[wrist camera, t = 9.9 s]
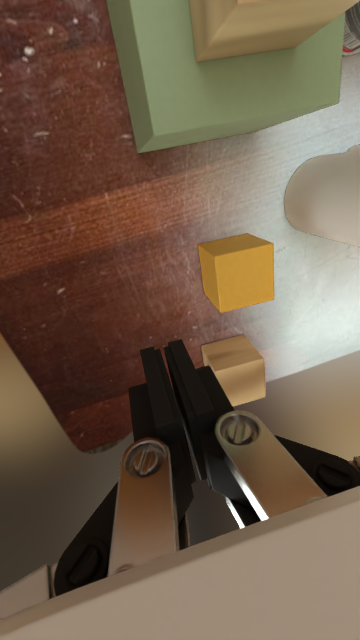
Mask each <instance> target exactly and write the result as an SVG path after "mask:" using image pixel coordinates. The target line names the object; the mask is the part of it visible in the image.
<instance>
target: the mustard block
mask: <svg viewBox="0 0 360 640" xmlns="http://www.w3.org/2000/svg"><path fill="white" fill-rule="evenodd" d="M198 250H199V258H200V265H201V272H202V280H203V287H204V293H205V294H206V296H207V297H208V298H209V299H210V301H211V302H212V303H213V304H214V305H215V307H216V308H217V309H218V310H219V311H220V313H222V312H226V311H230V310H234V309H238V308H242V307H247V306H251V305H255V304H259V303H263V302H267V301H271V300H274V251H273V243H271V242H268V241H266V240H263V239H261V238H258V237H256V236H253V235H250V234H248V233H247V234H243V235H238V236H233V237H229V238H224V239H220V240H215V241H211V242H206V243H201V244H198Z"/></svg>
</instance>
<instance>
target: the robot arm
mask: <svg viewBox="0 0 360 640" xmlns="http://www.w3.org/2000/svg"><path fill="white" fill-rule="evenodd" d="M164 351H165V356H166V360H167V364H168V369H169V373H170V377H171V382H172V386H173V389H172V386H171V383H170V380H169V377H168V373H167V370H166V367H165V364H164V361H163V358H162V355H161V351H160V349H156V350H154V347H150V348H146V349H142V350H140V352H141V357H142V362H143V367H144V372H145V377H146V382H147V383H144V384H141V385H137V386H134V387H130V388H129V399H130V408H131V417H132V426H133V434H134V443H133V444H131V445H130V446H129V447H128V448H127V449H126V451H125V452H124V454H123V456H122V459H121V462H120V470H119V479H118V482H117V483H116V485H115V486H114V487H113V489H112V490H111V491H110V493H109V494H108V495H107V496H106V498H105V499H104V500H103V502H102V503H101V504H100V506H99V507H98V508H97V509H96V511H95V512H94V514H93V515H92V516H91V517H90V519H89V520H88V521H87V522H86V524H85V525H84V526H83V528H82V529H81V530H80V532H79V533H78V534H77V536H76V537H75V538H74V540H73V541H72V542H71V543H70V545H69V546H68V547H67V549H66V550H65V551H64V553H63V555H62V556H61V558H60V560H59V561H58V562H57V563H55V564H53V565H52V566H50V567H49V566H48V564H46V565H44V566H42V567H41V568H39V569H37V570H36V571H34V572H32V573H31V574H29V575H27V576H26V577H24V578H23V579H21V580H19V581H18V582H16V583H14V584H13V585H11V586H9V587H8V588H6V589H4V590H3V591H1V592H0V640H360V456H358V457H354V460H353V461H347V460H344V459H342V458H340V457H338V456H335V455H332V454H329V453H326V452H323V451H320V450H317V449H314V448H311V447H308V446H306V445H303V444H299V443H297V442H294V441H291V440H288V439H285V438H281V437H279V436H275V435H273V434H272V433H271V432H270V431H269V430H268V428H267V427H266V426H265V425H264V424H263V423H262V422H261V421H260V419H259V418H257V417H256V416H255V415H253V414H251V413H249V412H246V411H235V410H234V409H233V406H232V405H231V403H230V401H229V399H228V397H227V396H226V394H225V392H224V390H223V388H222V387H221V385H220V383H219V381H218V379H217V378H216V376H215V374H214V372H213V370H212V369H211V367H210V366H209V365H208V366H204V367H201V368H197V369H195V367H194V365H193V363H192V361H191V358H190V356H189V354H188V352H187V350H186V348H185V346H184V344H183V341H182V340H181V339H180V340H176V341H172V342H169V343H168V347H164ZM173 390H174V392H173ZM183 425H184V426H183ZM184 428H185V430H184ZM185 431H186V434H185ZM186 435H187V438H188V441H189V444H190V447H191V450H192V454H193V457H194V460H195V463H196V466H197V469H198V473H199V476H200V479H201V481H202V480H205V479H207V481H208V483H209V487H210V489H212V488H213V491H216V492H217V493H219V494H222V495H224V496H225V499H226V501H227V504H228V506H229V507H230V509H231V511H232V513H233V515H234V516H235V518H236V520H237V522H238V524H239V526H240V528H241V529H238V530H235V531H233V532H230V533H227V534H224V535H221V536H218V537H216V538H213V539H210V540H208V541H205V542H202V543H199V544H196V545H194V546H191V547H190V538H189V527H188V517H187V513H186V511H187V509H188V507H189V505H190V503H191V502H192V500H193V498H194V496H193V491H192V487H191V484H193V483H196V479H195V474H194V470H193V465H192V461H191V456H190V452H189V448H188V443H187V439H186Z"/></svg>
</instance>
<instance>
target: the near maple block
mask: <svg viewBox="0 0 360 640" xmlns="http://www.w3.org/2000/svg"><path fill="white" fill-rule="evenodd" d="M359 1H360V0H189V4H190V13H191V22H192V31H193V40H194V49H195V58H196V62H202V61H209V60H215V59H222V58H228V57H235V56H241V55H248V54H254V53H261V52H267V51H274V50H280V49H287V48H293V47H297V46H298V45H300V44H301V43H302V42H304V41H305V40H306V39H308V38H309V37H311V36H312V35H313V34H315V33H316V32H318V31H319V30H320V29H322V28H323V27H324V26H326V25H327V24H329V23H330V22H331V21H333V20H334V19H335V18H337V17H338V16H340V15H341V14H342V13H344V12H345V11H346V10H348V9H349V8H351V7H352V6H353V5H355V4H356V3H357V2H359Z"/></svg>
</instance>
